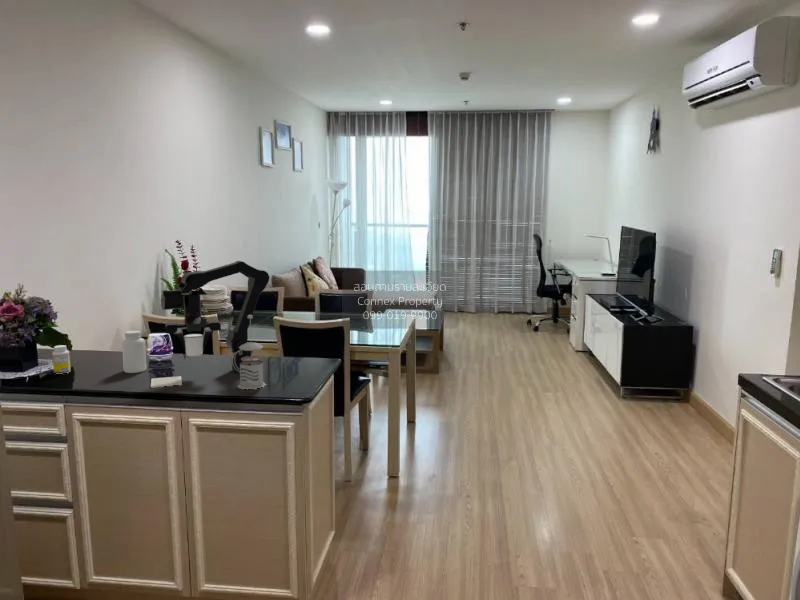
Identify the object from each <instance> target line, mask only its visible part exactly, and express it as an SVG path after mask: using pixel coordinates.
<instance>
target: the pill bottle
mask: <svg viewBox="0 0 800 600" xmlns="http://www.w3.org/2000/svg"><path fill="white" fill-rule="evenodd" d="M124 337H125V339H123V340H122V343H121V351H122V367H123V372H125V373H126V374H138V373H142V372H144V371H146V370H147V354H146V341H145V339H144V338H142V337H141V331H140V330H128V331H125V332H124Z"/></svg>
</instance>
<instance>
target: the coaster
mask: <svg viewBox="0 0 800 600" xmlns="http://www.w3.org/2000/svg"><path fill="white" fill-rule="evenodd" d="M150 381H151V382H150V388H151V389H153V388H154V389H155V388H165V387H164V386H167V387H174V386H173V385H179V386H183V382H182V376H181V375H180V376H167V377H156V378H155V377H154V378H153V377H152V378H151V380H150Z"/></svg>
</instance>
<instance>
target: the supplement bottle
mask: <svg viewBox="0 0 800 600" xmlns="http://www.w3.org/2000/svg"><path fill="white" fill-rule="evenodd" d="M53 347H54V348H53V352H52V353H51V356H52V357H51V358H52V367H53V368H52V369H53V370H52V371H53V374H54V373H56V374H63V373H67V374H69V372H70V373H71V359H70V350H68V349H67V345H66V344H65V345H64V344H63V345H62V344H59V345H55V346H53ZM56 374H55V375H56ZM63 375H64V374H63Z"/></svg>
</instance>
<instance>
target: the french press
mask: <svg viewBox="0 0 800 600" xmlns="http://www.w3.org/2000/svg"><path fill="white" fill-rule="evenodd" d="M247 318H248V319H250V324H249V327H250V329H249V330H250V331H249V332H250V333H249V334H250V337H252V322H251V320H252V319H254V317H253V315H248V317H247ZM239 348H240V350H239V351H237V352H236V353H233V354H234V355H235V356H236V354H237V353H238V352H239V354H240V351H241V354H242V350H245V351H251V356H247V357H243V358H241V361H243V362H242V365H241V363H240V369H239V368H238V367H237V365H236V363H235V365H236V367H237V368H238V369H239V370H240V371H239V372H238V373H239V381H240V383H239V384H238V385H237V387H238V389H240V390H244V389H247V390H248V389H254V390H258V389H257V388H260V389H262V388H261V387H263V388H265V387H264V386H265V385H266V386H267V383H266V384H265V382H264V362H263V361H262V359H263V357H261V356H259V355H257V356H256V355H253V352H254V351H260V350H262V349H264V345H262V344H260V343H258V342H252V341H250V342H247V343H245V344H243V345H241V346H240V347H239ZM252 351H253V352H252ZM233 354H232V357H231V358H232V359H231V365H232V364H233V357H234V355H233ZM241 354H240V355H241ZM234 362H235V357H234ZM248 364H251V365H250V366H247V365H248ZM233 366H234V364H233ZM234 368H235V367H234ZM241 368H242V370H241ZM235 369H236V368H235ZM247 369H248V370H247ZM236 370H237V369H236ZM237 371H238V370H237ZM248 391H249V390H248Z"/></svg>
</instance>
